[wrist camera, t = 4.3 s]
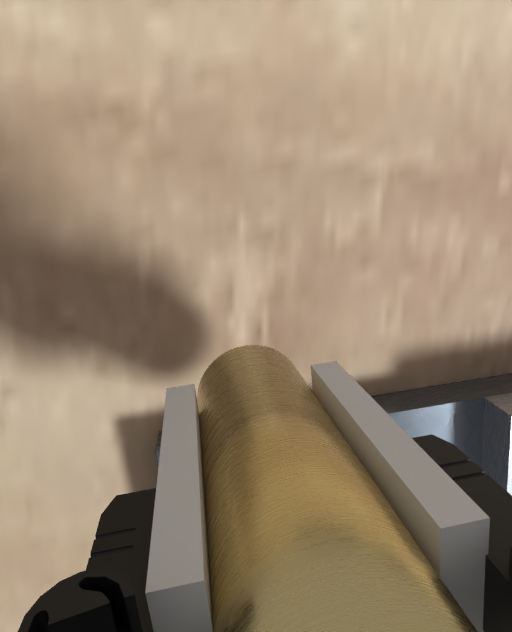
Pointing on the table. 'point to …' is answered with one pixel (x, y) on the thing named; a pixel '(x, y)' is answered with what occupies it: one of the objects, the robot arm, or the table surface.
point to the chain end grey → (498, 439)
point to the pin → (302, 515)
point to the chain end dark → (441, 412)
